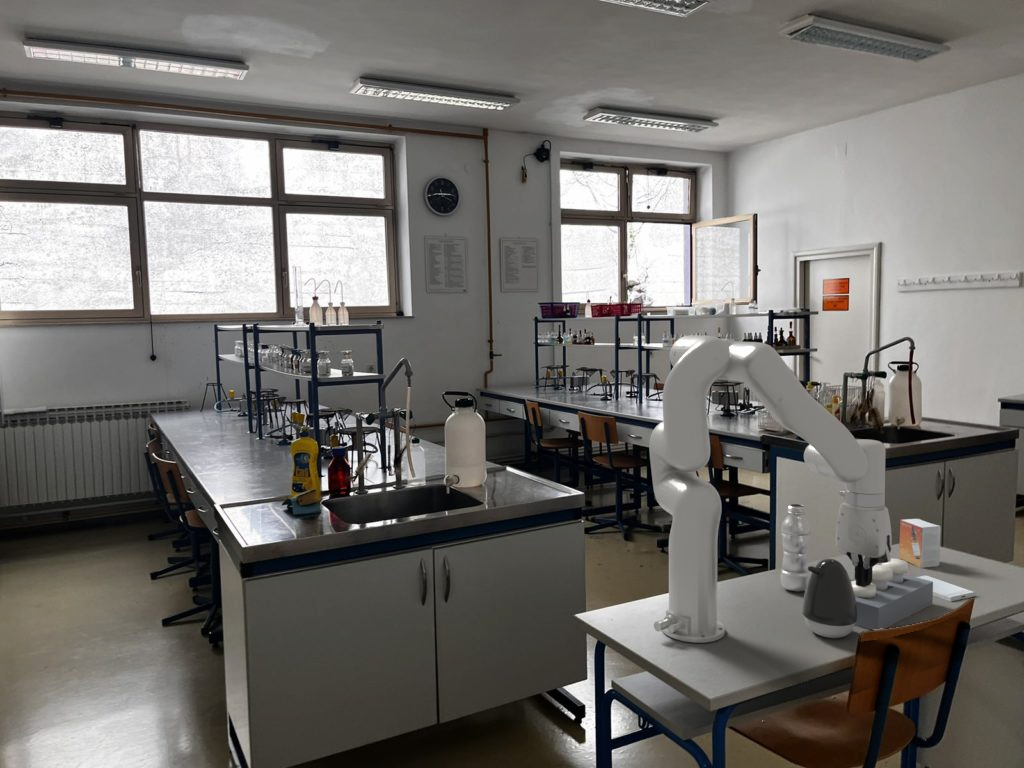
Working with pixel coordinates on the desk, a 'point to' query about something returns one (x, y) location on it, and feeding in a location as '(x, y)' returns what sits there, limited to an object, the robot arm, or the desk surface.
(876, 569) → the knob mid
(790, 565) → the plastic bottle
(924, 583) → the housing
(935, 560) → the small box
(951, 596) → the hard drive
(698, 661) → the desk surface
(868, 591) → the knob near
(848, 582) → the dark grey penguin figure
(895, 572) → the knob far
